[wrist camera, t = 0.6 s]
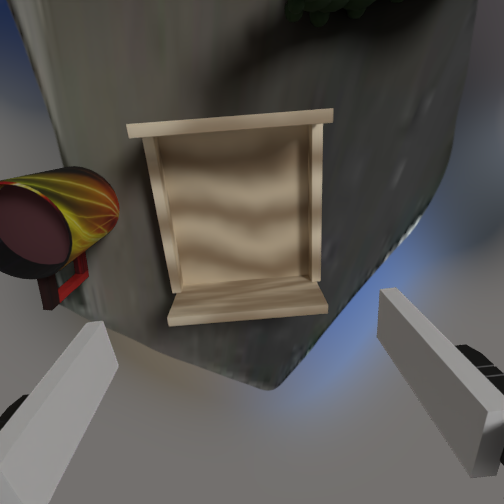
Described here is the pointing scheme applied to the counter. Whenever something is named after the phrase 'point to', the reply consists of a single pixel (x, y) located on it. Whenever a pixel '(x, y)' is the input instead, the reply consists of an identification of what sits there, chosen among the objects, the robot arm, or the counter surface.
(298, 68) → the counter surface
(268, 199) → the open wooden box
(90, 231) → the mug
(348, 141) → the counter surface
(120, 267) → the counter surface
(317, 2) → the toy figurine
